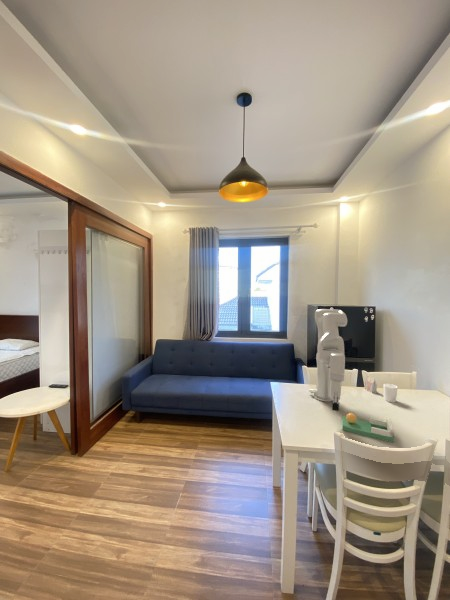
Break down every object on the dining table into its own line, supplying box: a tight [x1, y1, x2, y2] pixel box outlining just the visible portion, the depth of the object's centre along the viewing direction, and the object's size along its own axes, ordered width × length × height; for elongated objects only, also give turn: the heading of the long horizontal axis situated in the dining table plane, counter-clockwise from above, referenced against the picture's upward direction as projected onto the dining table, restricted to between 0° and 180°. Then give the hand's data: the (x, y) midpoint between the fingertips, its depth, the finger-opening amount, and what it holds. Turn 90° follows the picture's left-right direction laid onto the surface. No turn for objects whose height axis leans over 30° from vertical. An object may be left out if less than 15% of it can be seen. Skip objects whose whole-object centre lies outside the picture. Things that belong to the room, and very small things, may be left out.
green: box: [342, 415, 395, 443], centre depth 128 cm, size 22×12×6 cm, turn 64°
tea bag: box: [364, 375, 378, 394], centre depth 180 cm, size 4×7×10 cm, turn 7°
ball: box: [345, 412, 358, 423], centre depth 131 cm, size 5×5×5 cm
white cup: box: [382, 383, 398, 404], centre depth 165 cm, size 8×8×10 cm
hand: (335, 409), depth 134 cm, fingers closed
